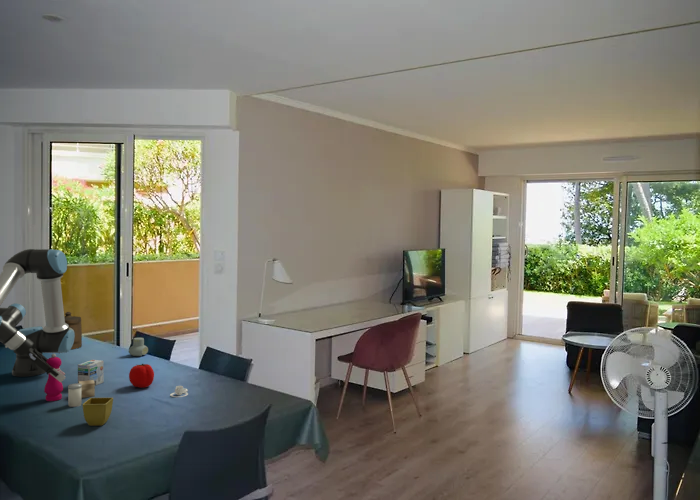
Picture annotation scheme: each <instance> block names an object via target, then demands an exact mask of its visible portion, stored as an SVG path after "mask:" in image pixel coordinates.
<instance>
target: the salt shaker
mask: <svg viewBox="0 0 700 500" xmlns="http://www.w3.org/2000/svg"><path fill="white" fill-rule="evenodd" d="M81 387H82V384H79V383H78V382H77V383H76V382H75V383H70V384H68V385H67V389H68V390H67V396H68V398H67V399H68V400H67V402H68V407H69V408H70V407H71V408H76V407H80V406H81V405H82V398H81Z"/></svg>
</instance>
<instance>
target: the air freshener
mask: <svg viewBox="0 0 700 500" xmlns="http://www.w3.org/2000/svg"><path fill="white" fill-rule="evenodd" d="M148 352H149V347H148V346H147V345H145V339H144V337H134V338H133V339H132V346H130V347H129V349H128V354H129V355H131V356H133V357H143V356H142V355H144V356H145V355H146V354H147V353H148Z"/></svg>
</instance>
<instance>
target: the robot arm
mask: <svg viewBox="0 0 700 500" xmlns="http://www.w3.org/2000/svg"><path fill="white" fill-rule="evenodd" d="M67 269H68V259H67V256H66V254H65V253H64V252H63V251H62V250H59V249H53V248H51V249H50V248H47V249H45V248H43V249H41V248H40V249H39V248H38V249H37V248H36V249H35V248H34V249H33V248H29V249H24V250H21V251H19V252H17V253H16V254H14V255H13V256H11V257H10V258H9V259H8V260H7V261H6V262H5V263H4V265H3V266H2V271H1V272H0V342H1V343H2V344H3V345H4V346H5V348H6V349H7V348H8V349H9V350H11V351H13V352H14V353H15V362H14V363H13V364H14V365H13V367H12V370H11V375H12V376H13V377H22V378H23V377H27V378H28V377H34V376H39V375H43V374H46V375H48V374H51V375H52V376H53V377H54V378H56V379H57V380H58V381H60V382H61V383H62V382H63V381H64V380H65V379H66V376H65V375H66V373H65V372H64V371H62V370H61V369H60V371H57V370H56V369H55V368H53V367H51V366H50V365H49V364H48V363H47V362H46V361H47V360H48V359H49V358H47V357H46V356H44V354H63V353H64V354H65V353H68V352H69V351H71V350H72V349H71V348H72V345H73V343H74V336H75V335H74V331H73V330H69V325H68V324H66V323H65V318H64V317H65V312H64V311H65V310H64V303H63V292H62V282H61V279H62V278H63V276H64V274H65V273H66V272H67ZM26 274H36V275H35V276H36V279H37V280H39V281H40V284H41V285H40V286H41V294H42V303H43V312H44V320H45V326H40V325H39V326H30V327H25V328H20V329H17V328H16V327H17V326H18V324H20V322H22V321H23V319H24V317H25V316H26V313H27V312H26V308H25V307H24V306H23V305H22V304H20V303H12V304H10V305H9V306H8V307H1V305H2V304H3V303H4V301H5V299H6V298H7V297H8V295H9V294H10V292H11V291H12V290H13V288H14V287H15V285H16V283H18V281H19V279H21V278H24V276H25V275H26ZM48 368H49V369H48ZM47 369H48V370H47Z"/></svg>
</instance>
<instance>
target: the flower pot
mask: <svg viewBox="0 0 700 500" xmlns="http://www.w3.org/2000/svg"><path fill="white" fill-rule="evenodd" d="M113 404H114V397H89V399H87V400H86V401H84V403H81V405H82V412H83V417H84V421H85V422H86V424H87V425H88V427H89V426H93V427H94V426H97V427H98V426H99V427H100V426H103V425H105V424H106V423H107V422H108V420H109V418H110V417H111V414H112V411H113V410H112V409H113Z"/></svg>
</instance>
